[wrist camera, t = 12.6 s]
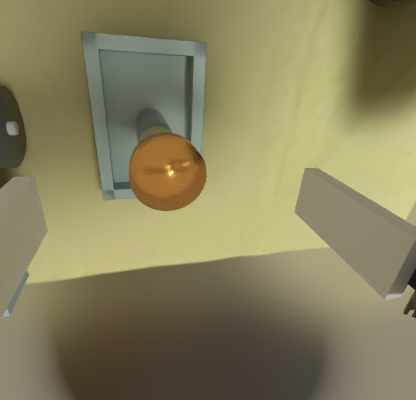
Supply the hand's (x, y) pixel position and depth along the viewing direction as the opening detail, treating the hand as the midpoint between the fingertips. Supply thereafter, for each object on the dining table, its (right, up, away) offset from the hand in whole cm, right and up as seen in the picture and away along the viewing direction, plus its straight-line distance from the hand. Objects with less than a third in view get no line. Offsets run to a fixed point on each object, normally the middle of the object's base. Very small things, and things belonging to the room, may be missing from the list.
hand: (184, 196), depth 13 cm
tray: (-6, +9, +17) cm, 20 cm away
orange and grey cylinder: (-5, +8, +16) cm, 19 cm away
